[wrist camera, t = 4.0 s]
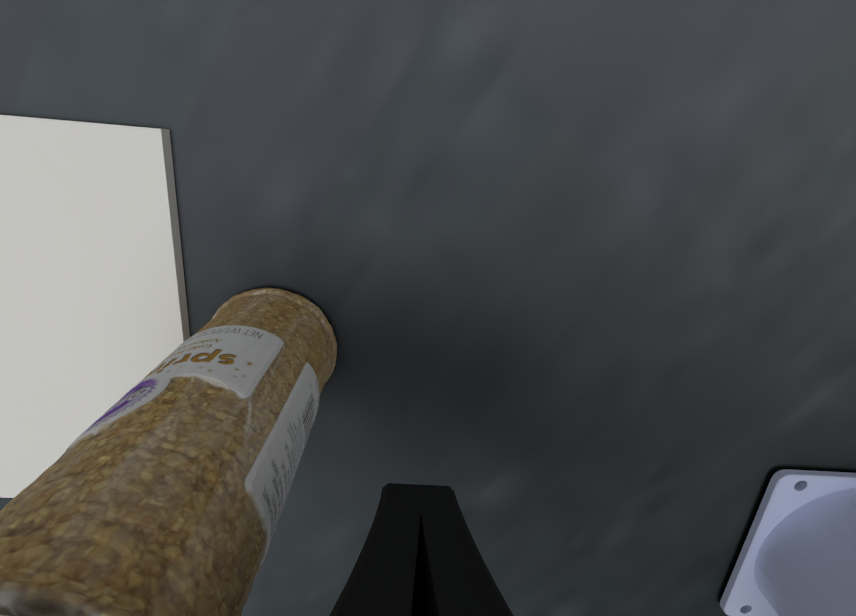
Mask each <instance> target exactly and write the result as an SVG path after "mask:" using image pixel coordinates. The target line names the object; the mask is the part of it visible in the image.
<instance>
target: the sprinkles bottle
mask: <svg viewBox="0 0 856 616" xmlns="http://www.w3.org/2000/svg"><path fill="white" fill-rule="evenodd" d="M336 356H337V343H336V339H335V335H334V332H333V329H332V326H331V325H330V323H329V322H328V320H327V318H326V317H325V315H324V314H323V312H322V311H321V310H320V308H319V307H317V306H316V305H315V304H313V303H312V302H310V301H309V300H308V299H306V298H304V297H302V296H300V295H298V294H294V293H291V292H289V291H285V290H282V289H273V288H258V289H252V290H250V291H247V292H242V293H241V294H238V295H235V296H233V297H231V298H230V299H229V300H228V301H226V302H225V303H224V304H222V305H221V306H220V308H219V309H218V310H217V312H216V313H215V314H214V316H213V317H212V319H211V320H210V321H209V322H208V323H207V324H206V325H205V326H204V327H203V328H202V329H200V330H199V331H198V332H197V333H196V334H195V335H193V336H191V337H190V338H189V339H187V340H186V341H184V342H183V343H182V344H181V345H180V346H178V347H177V348H176V349H175V350H174V351H173V352H172V353H171V354H170V355H169V356H168V357H166V358H165V359H164V360H163V361H162V362H161V363H160V364H159V365H157V366H156V367H155V368H154V369H153V370H152V371H151V372H150V373H149V374H148V375H147V376H146V377H144V378H143V379H142V380H141V381H140V382H139V383H138V384H137V385H135V386H134V387H133V388H132V389H131V390H130V391H129V392H127V393H126V394H125V395H124V396H123V397H122V398H121V399H120V400H119V401H118V402H117V403H116V404H114V405H113V406H112V407H111V408H110V409H109V410H108V411H106V412H105V413H104V414H103V415H102V416H101V417H100V418H99V419H98V420H97V421H96V422H94V423H93V424H92V425H91V426H90V427H89V428H88V429H87V430H85V431H84V432H83V433H82V434H81V435H80V436H79V437H78V438H77V439H76V440H75V441H74V442H73V443H72V444H71V445H70V446H69V447H68V448H67V449H66V451H65V453H64V454H63V455H62V456H61V457H60V458H59V459H58V460H57V461H56V462H55V463H54V464H52V465H51V466H50V467H49V468H48V469H46V470H45V471H44V472H43V473H42V474H41V475H40V476H39V477H38V478H37V479H36V480H35V481H33V482H32V483H31V484H30V485H29V486H27V487H26V488H25V489H23V490H22V491H21V492H20V493H19V494H18V495H17V496H16V497H15V498H14V499H12V500H11V501H10V502H9V503H8V504H7V505H6V506H5V507H4V508H3V509H2V510H1V511H0V616H241V614H242V611H243V608H244V605H245V603H246V601H247V598H248V596H249V593H250V590H251V587H252V584H253V581H254V578H255V576H256V575H257V573H258V572H259V570H260V568H261V566H262V564H263V562H264V559H265V557H266V555H267V552H268V549H269V546H270V544H271V541H272V538H273V535H274V532H275V529H276V526H277V524H278V521H279V518H280V515H281V512H282V509H283V507H284V504H285V501H286V498H287V496H288V493H289V490H290V487H291V484H292V482H293V479H294V476H295V473H296V470H297V468H298V465H299V462H300V459H301V457H302V454H303V451H304V448H305V445H306V443H307V440H308V437H309V434H310V431H311V428H312V425H313V423H314V420H315V417H316V414H317V411H318V406H319V397H320V395H321V392H322V389H323V386H324V385H325V384H326V382H327V381H328V379H329V377H330V376H331V374H332V373H333V370H334V367H335V364H336Z"/></svg>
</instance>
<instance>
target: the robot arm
mask: <svg viewBox="0 0 856 616" xmlns="http://www.w3.org/2000/svg"><path fill="white" fill-rule="evenodd" d="M720 606H721V608H722V609H723V611H724V612H725V614H727V615H730V616H856V473H848V472H829V471H810V470H791V469H785V470H780V471H778V472H776V473H775V474H773V476H772V478H771V480H770V482H769V485H768V487H767V489H766V492H765V494H764V497H763V499H762V501H761V504H760V506H759V509H758V511H757V514H756V516H755V518H754V521H753V523H752V526H751V528H750V530H749V533H748V535H747V538H746V540H745V543H744V545H743V547H742V550H741V552H740V555H739V557H738V559H737V562H736V564H735V567H734V569H733V572H732V574H731V576H730V579H729V581H728V584H727V586H726V588H725V591H724V593H723V596H722V598H721V600H720ZM330 616H513V614H512V612H511V611H510V609H509V607H508V605H507V604H506V602H505V600H504V598H503V596H502V595H501V593H500V591H499V589H498V587H497V586H496V584H495V582H494V580H493V578H492V576H491V574H490V572H489V570H488V568H487V566H486V564H485V563H484V561H483V559H482V557H481V555H480V553H479V551H478V548H477V546H476V544H475V542H474V540H473V538H472V536H471V533H470V531H469V529H468V527H467V524H466V522H465V520H464V517H463V515H462V512H461V510H460V507H459V505H458V502H457V499H456V496H455V493H454V491H453V490H452V489H451V488H450V487H449V486H434V485H413V484H392V483H388V484H387V485H386V486H384V487H383V488H382V494H381V499H380V502H379V506H378V509H377V513H376V516H375V518H374V521H373V524H372V527H371V529H370V532H369V534H368V537H367V539H366V542H365V544H364V546H363V548H362V551H361V553H360V555H359V557H358V560H357V562H356V564H355V566H354V569H353V571H352V573H351V575H350V577H349V579H348V581H347V583H346V585H345V587H344V589H343V591H342V593H341V595H340V597H339V599H338V600H337V602H336V604H335V606H334V608H333V610H332V612H331V614H330Z"/></svg>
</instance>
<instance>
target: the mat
mask: <svg viewBox="0 0 856 616" xmlns="http://www.w3.org/2000/svg"><path fill="white" fill-rule="evenodd" d="M189 338H190V330H189V320H188V310H187V300H186V290H185V280H184V270H183V260H182V250H181V240H180V230H179V220H178V210H177V200H176V190H175V180H174V170H173V160H172V150H171V140H170V130H169V129H159V128H148V127H136V126H125V125H114V124H102V123H91V122H79V121H68V120H56V119H45V118H34V117H22V116H11V115H0V497H6V498H15V497H16V496H17V495H18V494H19V493H20V492H21V491H22V490H23V489H25V488H26V487H27V486H29V485H30V484H31V483H32V482H33V481H35V480H36V479H37V478H38V477H39V476H40V475H41V474H42V473H43V472H44V471H45V470H46V469H48V468H49V467H50V466H51V465H52V464H54V463H55V462H56V461H57V460H58V459H59V458H60V457H61V456H62V455H63V454H64V453H65V451H66V449H67V448H68V447H69V446H70V445H71V444H72V443H73V442H74V441H75V440H76V439H77V438H78V437H79V436H80V435H81V434H82V433H83V432H84V431H85V430H87V429H88V428H89V427H90V426H91V425H92V424H93V423H94V422H96V421H97V420H98V419H99V418H100V417H101V416H102V415H103V414H104V413H105V412H106V411H108V410H109V409H110V408H111V407H112V406H113V405H114V404H116V403H117V402H118V401H119V400H120V399H121V398H122V397H123V396H124V395H125V394H126V393H127V392H129V391H130V390H131V389H132V388H133V387H134V386H135V385H137V384H138V383H139V382H140V381H141V380H142V379H143V378H144V377H146V376H147V375H148V374H149V373H150V372H151V371H152V370H153V369H154V368H155V367H156V366H157V365H159V364H160V363H161V362H162V361H163V360H164V359H165V358H166V357H168V356H169V355H170V354H171V353H172V352H173V351H174V350H175V349H176V348H177V347H178V346H180V345H181V344H182V343H183V342H184V341H186V340H187V339H189Z"/></svg>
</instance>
